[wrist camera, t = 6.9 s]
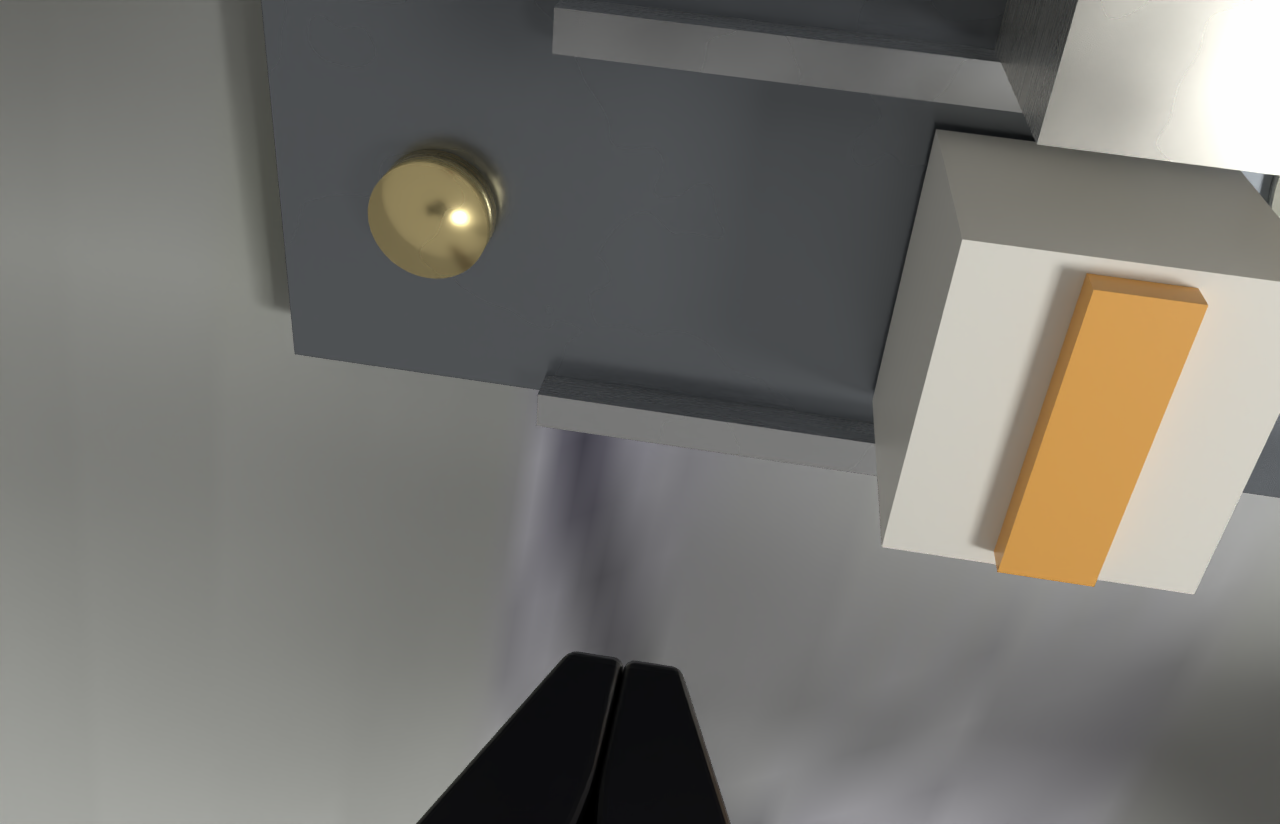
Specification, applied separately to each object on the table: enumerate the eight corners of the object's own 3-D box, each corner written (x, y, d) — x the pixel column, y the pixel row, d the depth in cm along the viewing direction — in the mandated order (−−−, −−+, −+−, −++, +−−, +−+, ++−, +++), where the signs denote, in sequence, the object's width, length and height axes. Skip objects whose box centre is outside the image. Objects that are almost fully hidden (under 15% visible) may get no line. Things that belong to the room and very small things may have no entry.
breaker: (1237, 167, 15) (1352, 307, 12) (1132, 437, 18) (1202, 616, 14) (936, 129, 16) (965, 255, 12) (872, 400, 18) (882, 567, 15)
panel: (2189, -276, 13) (2819, -250, 9) (1618, 522, 19) (1831, 751, 15) (259, -463, 14) (35, -514, 10) (322, 335, 20) (199, 498, 16)
